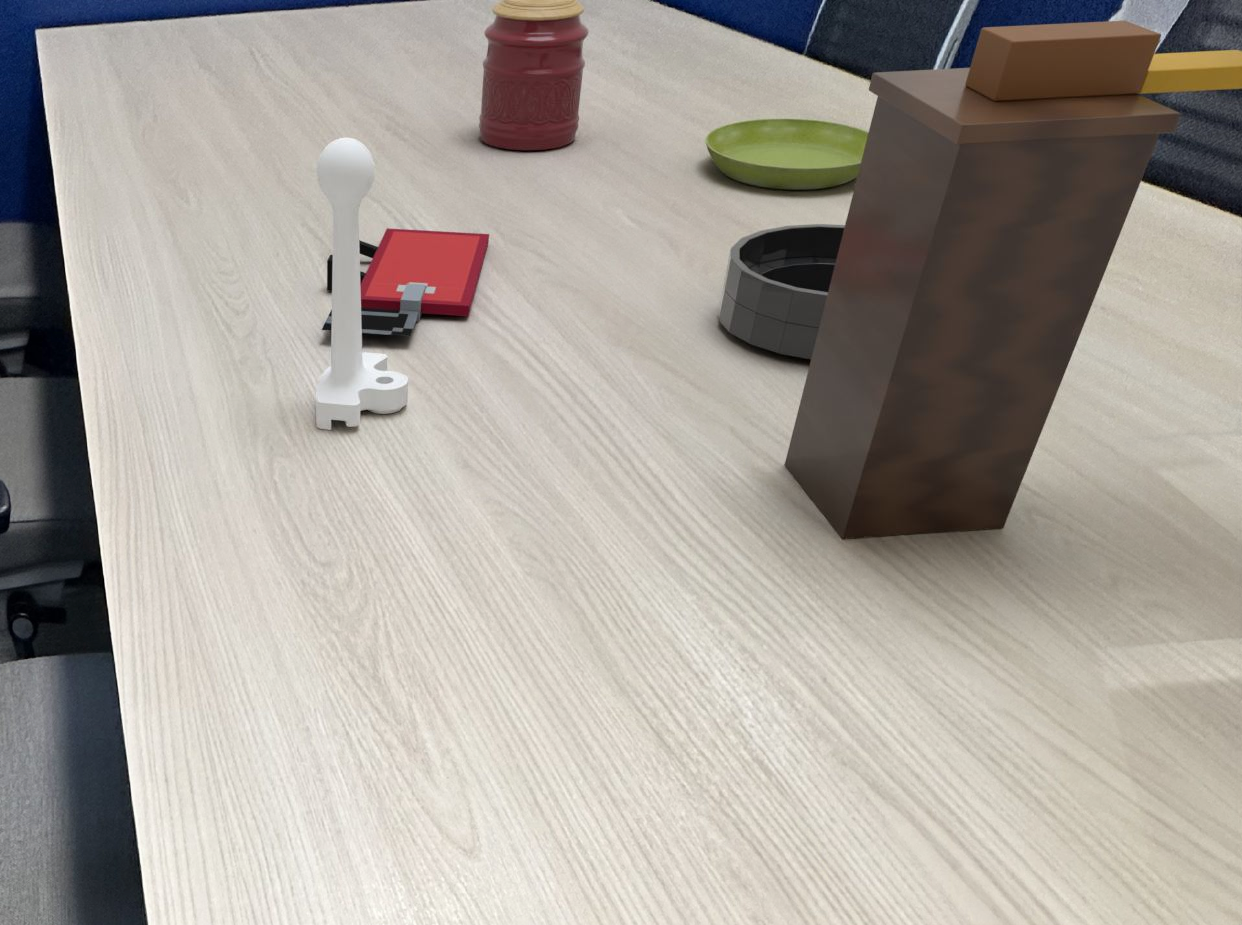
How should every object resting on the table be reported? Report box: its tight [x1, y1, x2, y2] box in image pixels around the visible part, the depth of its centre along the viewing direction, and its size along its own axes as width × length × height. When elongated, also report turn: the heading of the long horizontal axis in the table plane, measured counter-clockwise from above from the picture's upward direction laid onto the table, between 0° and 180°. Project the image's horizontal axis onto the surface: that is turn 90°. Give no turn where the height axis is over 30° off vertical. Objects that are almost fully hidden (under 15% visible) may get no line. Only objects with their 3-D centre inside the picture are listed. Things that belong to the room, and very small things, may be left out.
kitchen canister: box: [478, 0, 590, 151], centre depth 160 cm, size 13×13×18 cm
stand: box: [784, 67, 1182, 540], centre depth 86 cm, size 13×13×26 cm
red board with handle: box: [321, 227, 490, 337], centre depth 127 cm, size 30×3×15 cm
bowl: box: [718, 223, 845, 360], centre depth 117 cm, size 20×20×6 cm
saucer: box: [705, 118, 869, 191], centre depth 152 cm, size 21×21×3 cm
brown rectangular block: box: [965, 20, 1242, 101], centre depth 76 cm, size 17×4×3 cm, turn 95°
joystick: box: [315, 137, 409, 431], centre depth 102 cm, size 11×8×20 cm
